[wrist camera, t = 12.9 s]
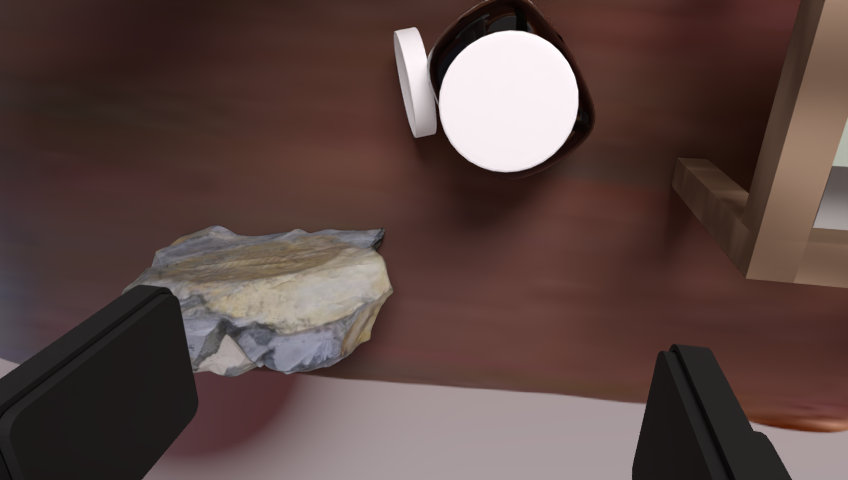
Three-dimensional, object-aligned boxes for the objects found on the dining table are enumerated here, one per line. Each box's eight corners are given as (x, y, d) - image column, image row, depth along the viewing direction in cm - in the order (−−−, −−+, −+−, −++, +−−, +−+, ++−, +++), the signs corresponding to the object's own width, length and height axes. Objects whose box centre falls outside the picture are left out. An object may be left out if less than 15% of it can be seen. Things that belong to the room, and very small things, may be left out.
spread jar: (602, 108, 36) (630, 147, 26) (465, 193, 40) (442, 256, 30) (507, -52, 34) (495, -81, 23) (371, 57, 38) (309, 74, 27)
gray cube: (808, 241, 31) (767, 208, 37) (903, 249, 31) (848, 213, 36) (835, 159, 29) (788, 136, 35) (938, 164, 29) (873, 140, 34)
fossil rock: (393, 200, 46) (386, 289, 32) (405, 293, 50) (404, 408, 36) (161, 224, 46) (59, 322, 33) (192, 315, 50) (113, 436, 37)
